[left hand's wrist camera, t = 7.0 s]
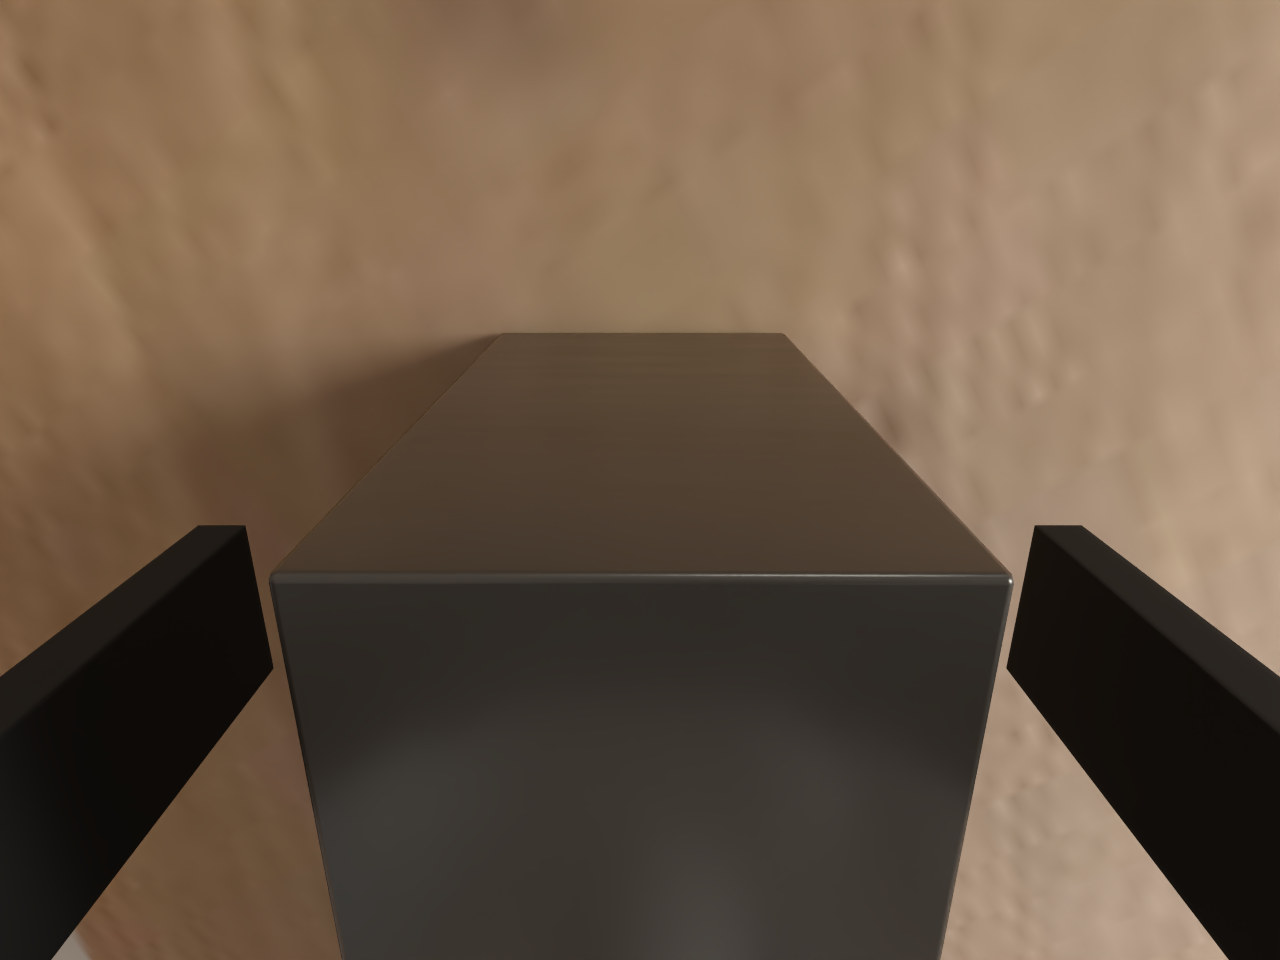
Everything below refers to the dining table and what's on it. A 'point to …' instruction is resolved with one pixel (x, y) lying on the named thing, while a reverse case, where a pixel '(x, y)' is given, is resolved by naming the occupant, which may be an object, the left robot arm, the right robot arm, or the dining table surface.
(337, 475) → the dining table surface
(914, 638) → the beam
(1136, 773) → the left robot arm
